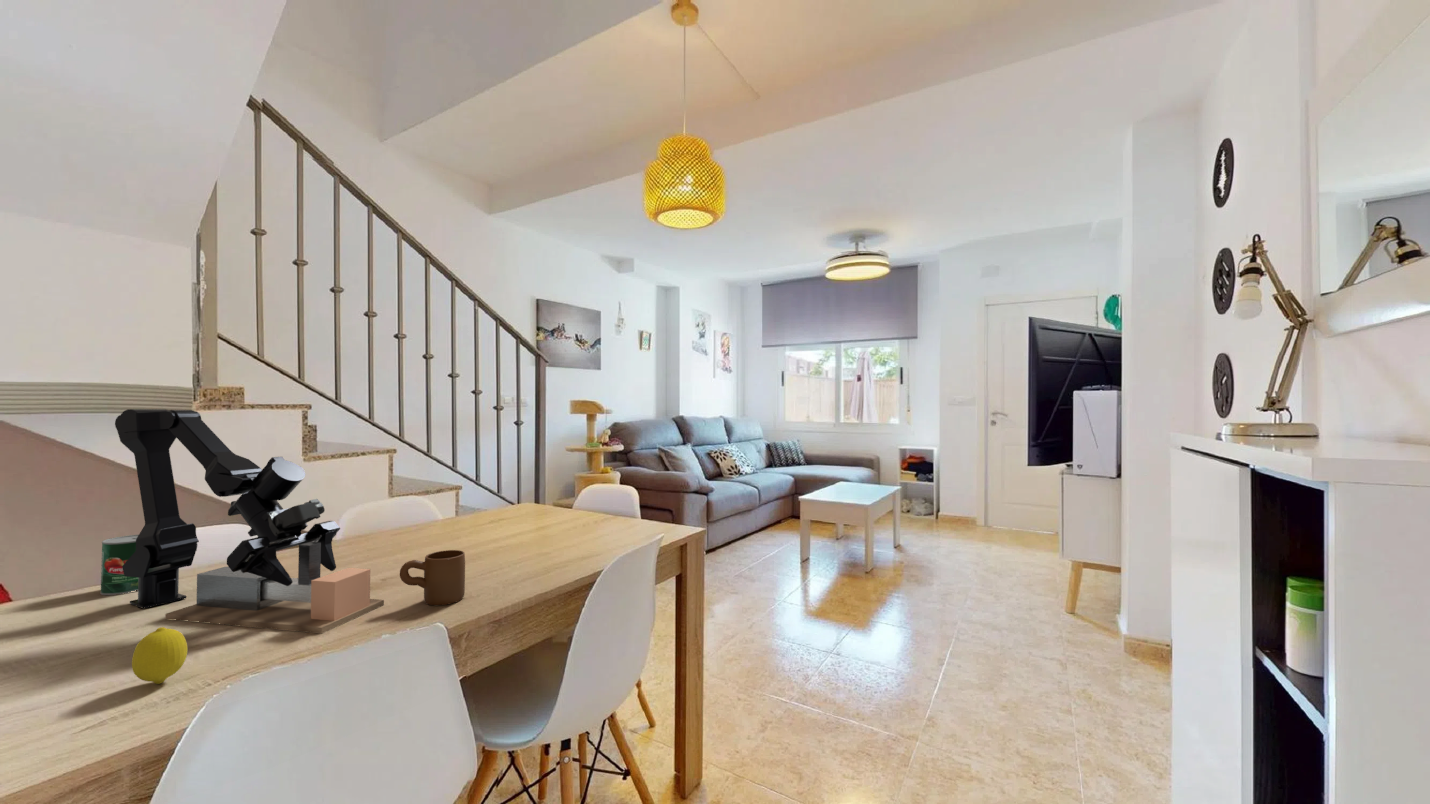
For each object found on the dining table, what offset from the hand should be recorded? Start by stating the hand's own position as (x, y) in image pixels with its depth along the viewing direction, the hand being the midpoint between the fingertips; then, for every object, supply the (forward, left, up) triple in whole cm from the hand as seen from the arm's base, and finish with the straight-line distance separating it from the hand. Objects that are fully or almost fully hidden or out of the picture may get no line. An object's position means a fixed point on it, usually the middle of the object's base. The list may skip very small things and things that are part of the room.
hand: (313, 576), depth 103 cm
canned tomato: (-52, -9, -7) cm, 53 cm away
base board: (-7, -2, -7) cm, 11 cm away
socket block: (+6, +2, -6) cm, 9 cm away
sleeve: (-16, -4, -6) cm, 18 cm away
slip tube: (-5, -1, -4) cm, 7 cm away
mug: (+15, +15, -7) cm, 22 cm away
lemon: (+9, -24, -7) cm, 27 cm away
